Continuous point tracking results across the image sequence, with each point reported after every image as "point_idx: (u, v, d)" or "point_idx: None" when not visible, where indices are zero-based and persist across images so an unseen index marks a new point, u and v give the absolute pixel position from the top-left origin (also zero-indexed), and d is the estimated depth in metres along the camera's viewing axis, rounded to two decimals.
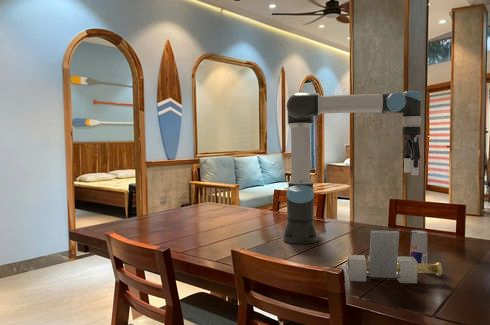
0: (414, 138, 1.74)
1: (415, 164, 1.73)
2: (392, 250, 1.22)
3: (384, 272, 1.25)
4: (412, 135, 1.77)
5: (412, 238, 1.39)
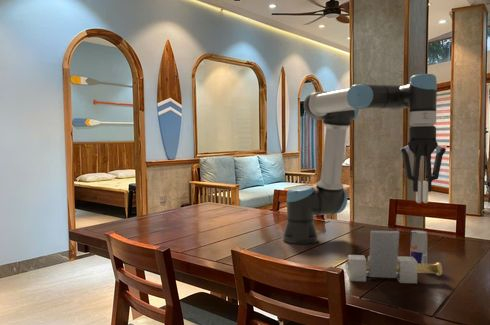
0: (400, 151, 1.25)
1: (413, 187, 1.25)
2: (392, 250, 1.22)
3: (384, 272, 1.25)
4: (409, 139, 1.25)
5: (412, 238, 1.39)
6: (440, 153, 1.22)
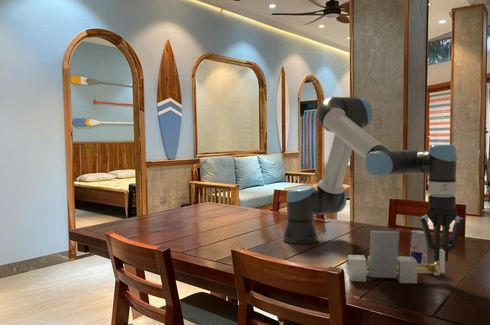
0: None
1: (434, 255, 1.25)
2: (392, 250, 1.22)
3: (384, 272, 1.25)
4: (428, 208, 1.24)
5: (412, 238, 1.39)
6: (459, 224, 1.22)
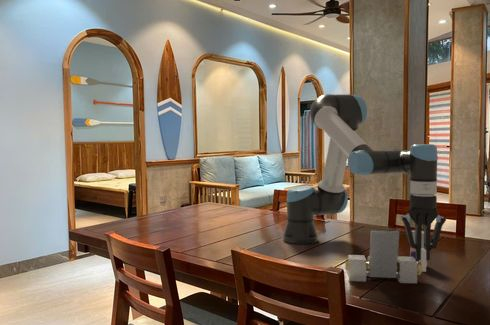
0: (401, 219, 1.26)
1: (415, 254, 1.25)
2: (392, 250, 1.22)
3: (384, 272, 1.25)
4: (410, 207, 1.25)
5: None
6: (440, 223, 1.22)
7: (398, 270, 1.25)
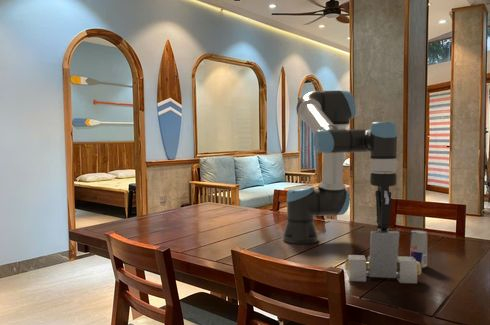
0: (385, 201, 1.18)
1: None
2: (392, 250, 1.22)
3: (384, 272, 1.25)
4: (383, 187, 1.20)
5: (412, 238, 1.39)
6: None
7: (398, 270, 1.25)
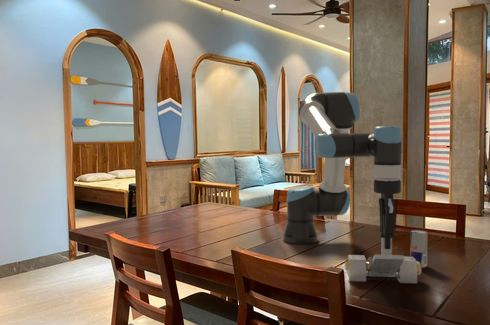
0: (389, 209, 1.12)
1: (387, 244, 1.17)
2: (394, 266, 1.19)
3: (383, 274, 1.26)
4: (387, 195, 1.14)
5: (412, 238, 1.39)
6: None
7: (398, 270, 1.25)
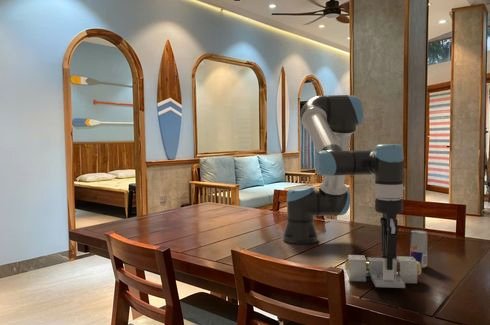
0: (391, 230, 1.10)
1: (389, 265, 1.15)
2: None
3: None
4: (389, 215, 1.12)
5: (412, 238, 1.39)
6: None
7: (398, 270, 1.25)
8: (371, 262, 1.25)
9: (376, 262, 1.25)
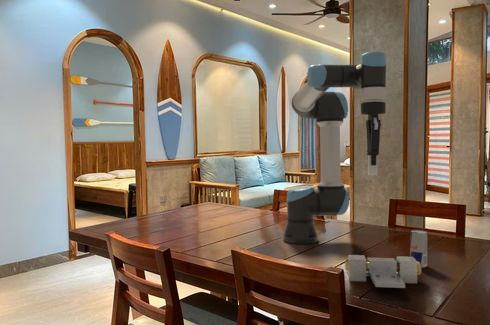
0: (375, 126, 1.24)
1: (373, 161, 1.28)
2: None
3: None
4: (373, 114, 1.26)
5: (412, 238, 1.39)
6: None
7: (398, 270, 1.25)
8: (371, 262, 1.25)
9: (376, 262, 1.25)
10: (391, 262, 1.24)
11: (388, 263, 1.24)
